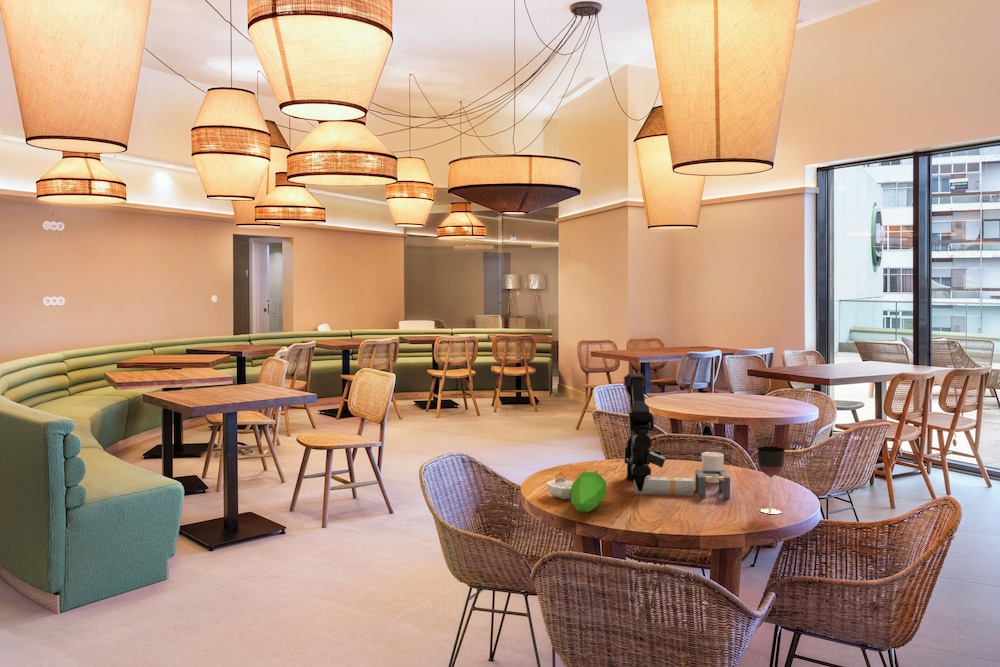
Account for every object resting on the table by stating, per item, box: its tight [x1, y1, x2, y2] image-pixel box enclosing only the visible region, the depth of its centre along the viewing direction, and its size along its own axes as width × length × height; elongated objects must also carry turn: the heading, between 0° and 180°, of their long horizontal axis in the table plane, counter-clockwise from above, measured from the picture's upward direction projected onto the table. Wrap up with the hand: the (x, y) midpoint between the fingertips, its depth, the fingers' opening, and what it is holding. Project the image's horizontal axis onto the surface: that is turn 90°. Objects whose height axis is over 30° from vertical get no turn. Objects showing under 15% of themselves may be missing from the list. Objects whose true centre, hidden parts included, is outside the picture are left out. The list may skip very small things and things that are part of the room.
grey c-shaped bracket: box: [694, 469, 731, 500], centre depth 253 cm, size 10×11×7 cm
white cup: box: [701, 451, 725, 484], centre depth 272 cm, size 8×8×10 cm
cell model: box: [546, 476, 574, 500], centre depth 250 cm, size 10×12×7 cm
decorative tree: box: [570, 471, 607, 512], centre depth 236 cm, size 11×12×30 cm
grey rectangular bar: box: [633, 476, 695, 496], centre depth 255 cm, size 20×4×5 cm, turn 82°
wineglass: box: [756, 445, 786, 514], centre depth 232 cm, size 8×9×20 cm
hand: (639, 489), depth 256 cm, fingers closed on grey rectangular bar, 4 cm apart
